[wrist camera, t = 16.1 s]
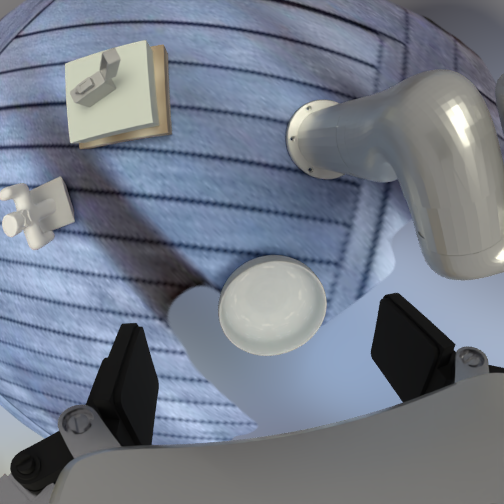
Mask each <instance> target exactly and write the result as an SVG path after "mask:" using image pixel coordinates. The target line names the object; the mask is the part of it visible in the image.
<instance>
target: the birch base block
mask: <svg viewBox="0 0 504 504" xmlns="http://www.w3.org/2000/svg"><path fill="white" fill-rule="evenodd" d="M150 48H151V49H152V51H153V60H154V74H155V85H156V96H157V106H158V116H159V125H160V126H155V127H150V128H145V129H140V130H135V131H131V132H126V133H122V134H118V135H113V136H109V137H105V138H102V139H98V140H94V141H90V142H87V143H79V147H80V149H91V148H96V147H101V146H105V145H110V144H116V143H121V142H126V141H132V140H138V139H144V138H150V137H157V136H164V135H171V134H172V127H171V112H170V95H169V73H168V53H167V51H166V49H165V46H164V45H158V46H152V47H150Z"/></svg>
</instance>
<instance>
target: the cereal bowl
mask: <svg viewBox="0 0 504 504" xmlns="http://www.w3.org/2000/svg"><path fill="white" fill-rule="evenodd" d="M326 305H327V302H326V295H325V291H324V288H323V286H322V284H321V282H320V280H319V279H318V277H317V276H316V275H315V274H314V272H313V271H312V270H311V269H310V268H308V267H307V266H306V265H304V264H303V263H301V262H300V261H298V260H295V259H293V258H290V257H287V256H281V255H269V256H268V255H267V256H262V257H257V258H255V259H253V260H250V261H248V262H246V263H244V264H243V265H241V266H240V267H239V268H238V269H236V270H235V271H234V272H233V273H232V274H231V276H230V277H229V278H228V279H227V281H226V283H225V284H224V287H223V289H222V291H221V295H220V299H219V305H218V315H219V321H220V325H221V327H222V330H223V332H224V333H225V335H226V336H227V338H228V339H229V340H230V341H231V342H232V343H233V344H234V345H236V346H237V347H239V348H240V349H242V350H244V351H246V352H248V353H252V354H255V355H262V356H272V355H279V354H283V353H287V352H289V351H292V350H294V349H296V348H298V347H300V346H302V345H303V344H305V343H306V342H307V341H308V340H309V339H311V338H312V336H313V335H314V334H315V333H316V332H317V330H318V329H319V328H320V326H321V324H322V322H323V319H324V317H325V313H326Z"/></svg>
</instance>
